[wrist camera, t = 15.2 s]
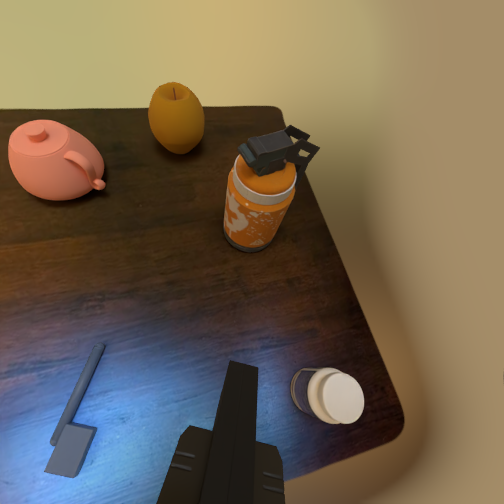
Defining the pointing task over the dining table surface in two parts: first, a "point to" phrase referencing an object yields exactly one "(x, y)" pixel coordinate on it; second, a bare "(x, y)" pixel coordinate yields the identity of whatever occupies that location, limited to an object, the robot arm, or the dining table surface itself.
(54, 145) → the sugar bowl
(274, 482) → the robot arm
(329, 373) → the pill bottle
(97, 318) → the dining table surface
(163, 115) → the apple
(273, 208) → the canister
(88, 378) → the axe
